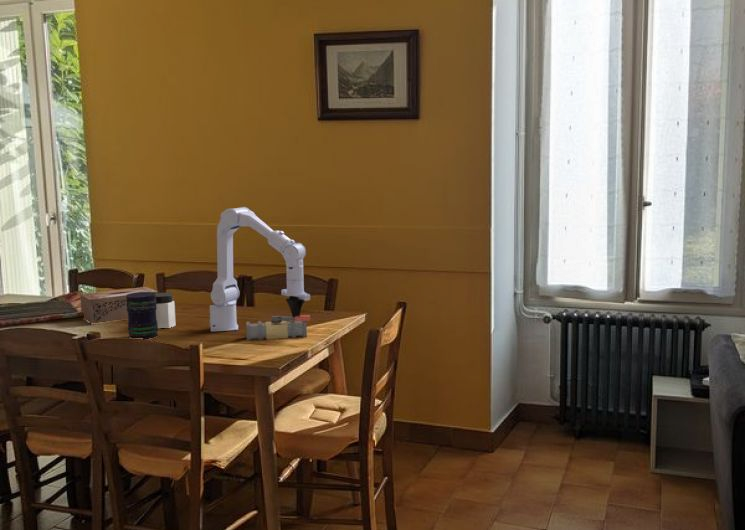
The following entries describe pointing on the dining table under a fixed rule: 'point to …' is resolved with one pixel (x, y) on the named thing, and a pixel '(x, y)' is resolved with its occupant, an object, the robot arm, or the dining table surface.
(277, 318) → the lever
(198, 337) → the dining table surface
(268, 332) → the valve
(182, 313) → the dining table surface
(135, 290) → the tissue box cover
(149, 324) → the storage jar
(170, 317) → the jar
